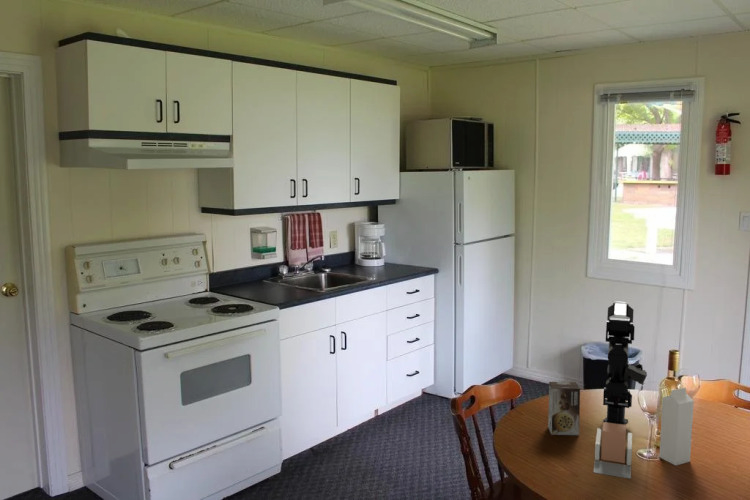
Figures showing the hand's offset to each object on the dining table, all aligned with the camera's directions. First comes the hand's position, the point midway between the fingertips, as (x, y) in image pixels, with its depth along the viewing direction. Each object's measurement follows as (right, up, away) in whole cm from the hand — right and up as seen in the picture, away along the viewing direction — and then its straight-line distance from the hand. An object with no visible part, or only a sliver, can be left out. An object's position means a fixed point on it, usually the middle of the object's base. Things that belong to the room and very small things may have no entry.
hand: (615, 404), depth 199 cm
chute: (-5, -14, -12) cm, 19 cm away
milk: (+13, -14, -11) cm, 22 cm away
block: (-4, -13, -9) cm, 17 cm away
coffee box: (-14, -11, +9) cm, 20 cm away
